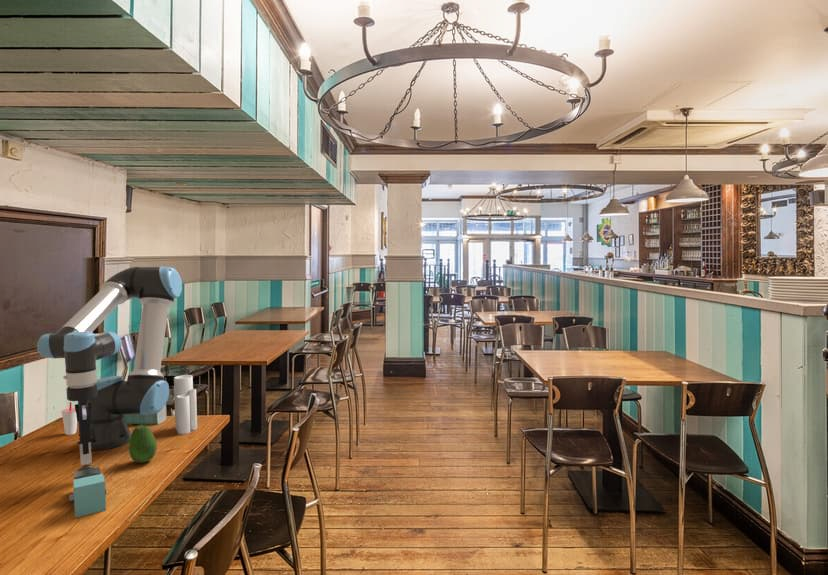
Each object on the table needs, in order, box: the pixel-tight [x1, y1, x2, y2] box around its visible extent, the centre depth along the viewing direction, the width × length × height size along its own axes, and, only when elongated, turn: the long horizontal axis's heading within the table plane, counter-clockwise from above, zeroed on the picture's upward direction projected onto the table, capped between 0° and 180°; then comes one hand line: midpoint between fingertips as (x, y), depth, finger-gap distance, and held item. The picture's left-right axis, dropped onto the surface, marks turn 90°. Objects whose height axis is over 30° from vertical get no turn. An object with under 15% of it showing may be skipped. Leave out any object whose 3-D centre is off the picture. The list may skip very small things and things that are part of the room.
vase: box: [173, 374, 198, 435], centre depth 195 cm, size 11×7×20 cm, turn 33°
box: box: [124, 403, 168, 426], centre depth 205 cm, size 7×14×8 cm, turn 89°
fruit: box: [128, 425, 158, 464], centre depth 163 cm, size 8×8×12 cm
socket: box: [72, 473, 107, 519], centre depth 132 cm, size 6×7×8 cm
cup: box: [61, 401, 78, 436], centre depth 191 cm, size 5×5×12 cm
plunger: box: [75, 464, 96, 476], centre depth 137 cm, size 17×6×6 cm, turn 36°
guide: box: [68, 466, 107, 504], centre depth 139 cm, size 4×8×7 cm, turn 126°
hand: (86, 463), depth 150 cm, fingers closed
